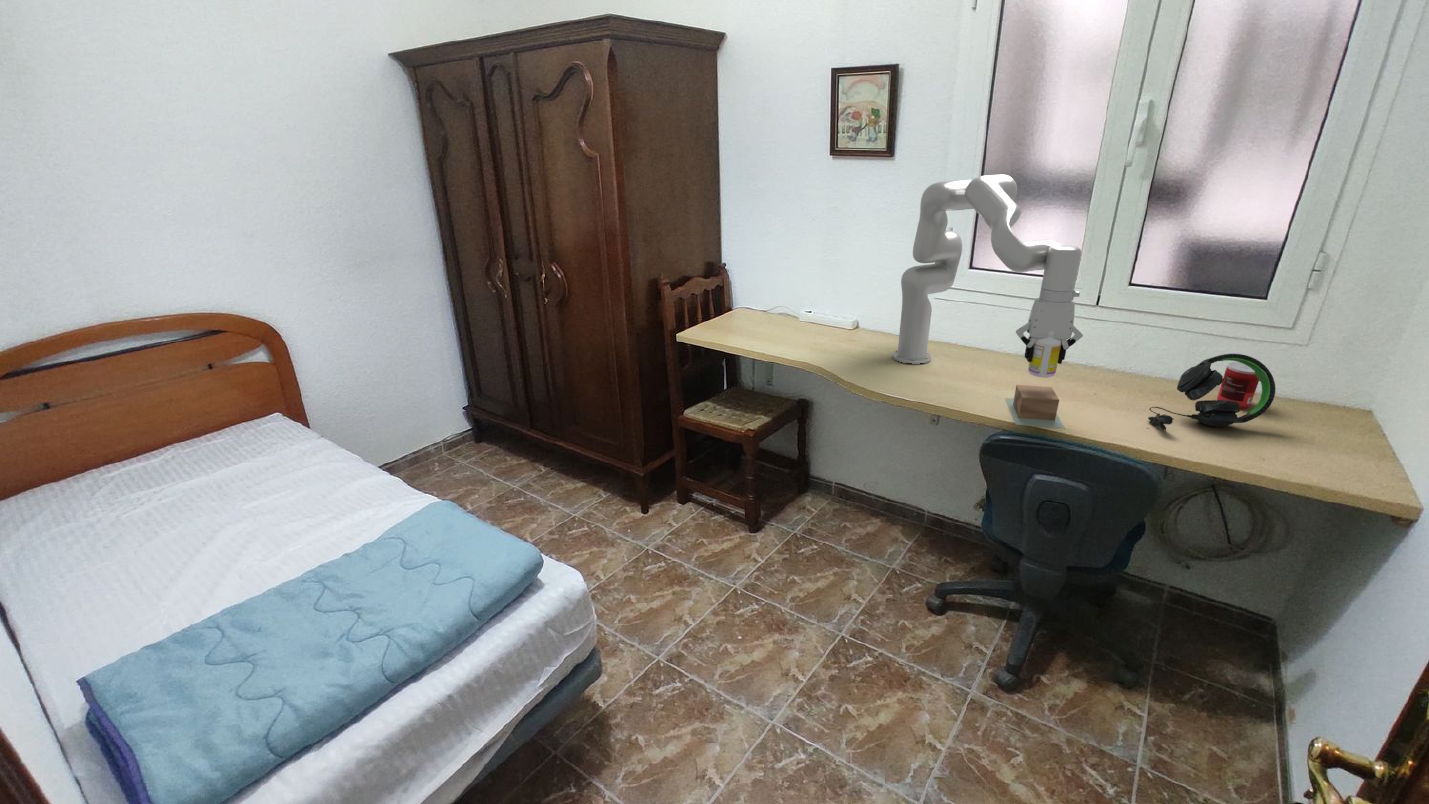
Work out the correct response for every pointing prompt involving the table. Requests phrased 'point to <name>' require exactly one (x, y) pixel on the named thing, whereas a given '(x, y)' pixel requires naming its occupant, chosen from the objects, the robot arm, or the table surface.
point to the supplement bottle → (1045, 357)
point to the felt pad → (1032, 422)
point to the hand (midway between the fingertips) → (1043, 360)
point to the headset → (1219, 411)
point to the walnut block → (1035, 402)
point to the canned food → (1238, 384)
